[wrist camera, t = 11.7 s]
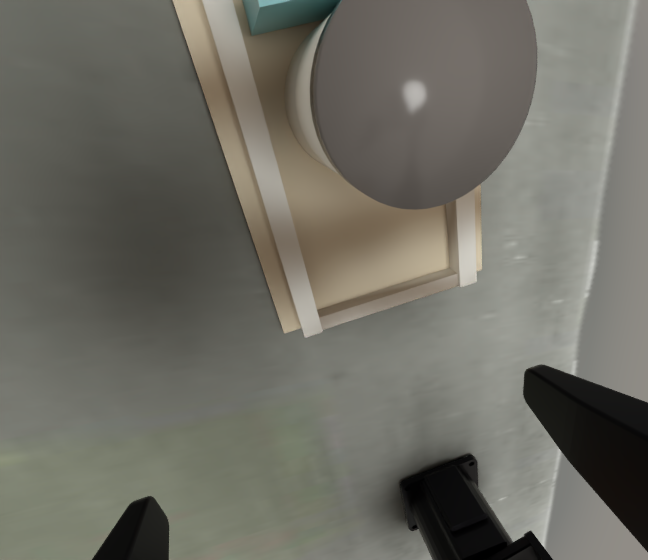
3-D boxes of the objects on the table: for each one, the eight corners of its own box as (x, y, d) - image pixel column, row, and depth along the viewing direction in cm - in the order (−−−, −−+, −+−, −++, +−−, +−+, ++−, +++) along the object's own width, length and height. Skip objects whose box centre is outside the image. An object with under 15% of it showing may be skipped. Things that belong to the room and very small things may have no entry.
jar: (425, 154, 17) (531, 178, 11) (302, 188, 17) (343, 234, 11) (412, -3, 15) (544, -85, 8) (263, 30, 14) (289, -32, 8)
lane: (476, 266, 22) (556, 317, 16) (283, 328, 20) (301, 405, 15) (462, -346, 11) (661, -735, 6) (73, -298, 10) (-97, -737, 5)
